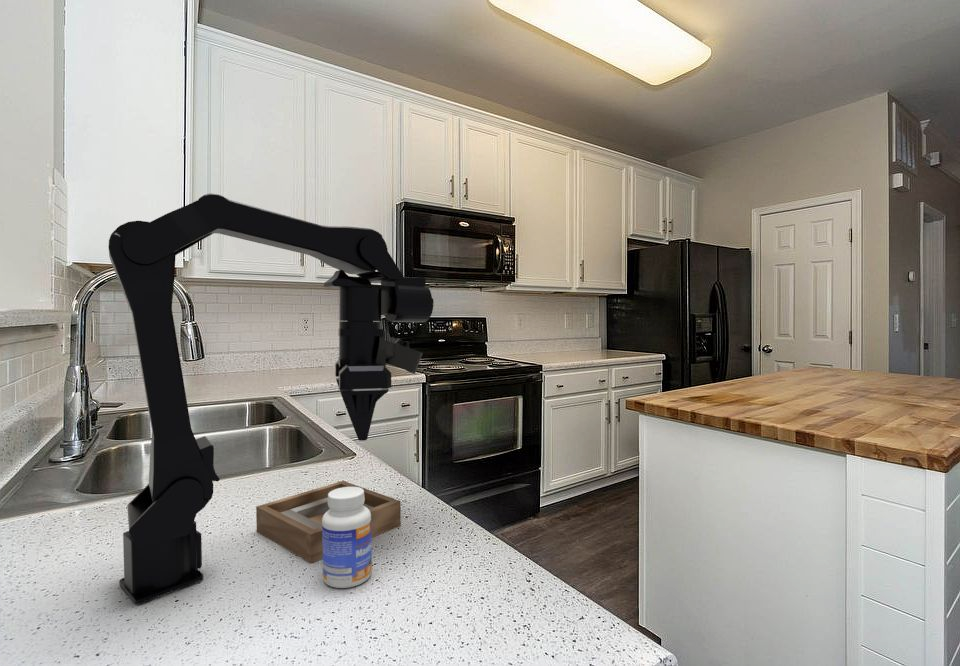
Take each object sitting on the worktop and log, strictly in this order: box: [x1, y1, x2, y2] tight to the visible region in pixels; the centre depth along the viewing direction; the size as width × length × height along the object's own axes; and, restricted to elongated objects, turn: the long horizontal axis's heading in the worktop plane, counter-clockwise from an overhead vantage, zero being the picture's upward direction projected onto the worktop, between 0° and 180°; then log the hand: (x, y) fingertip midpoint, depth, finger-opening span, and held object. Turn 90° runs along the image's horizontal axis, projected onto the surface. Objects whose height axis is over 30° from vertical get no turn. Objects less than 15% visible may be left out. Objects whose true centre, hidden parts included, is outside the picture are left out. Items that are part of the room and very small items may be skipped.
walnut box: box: [255, 480, 402, 564], centre depth 68 cm, size 14×14×4 cm
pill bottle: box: [322, 486, 373, 589], centre depth 55 cm, size 5×5×10 cm
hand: (359, 432), depth 68 cm, fingers open, 9 cm apart
